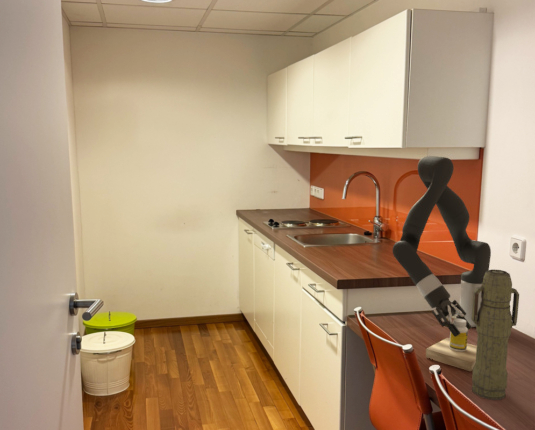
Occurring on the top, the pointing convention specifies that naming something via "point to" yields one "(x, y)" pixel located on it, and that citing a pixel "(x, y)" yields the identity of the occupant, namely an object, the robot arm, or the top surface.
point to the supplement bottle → (459, 336)
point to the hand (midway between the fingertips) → (463, 332)
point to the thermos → (493, 333)
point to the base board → (453, 355)
